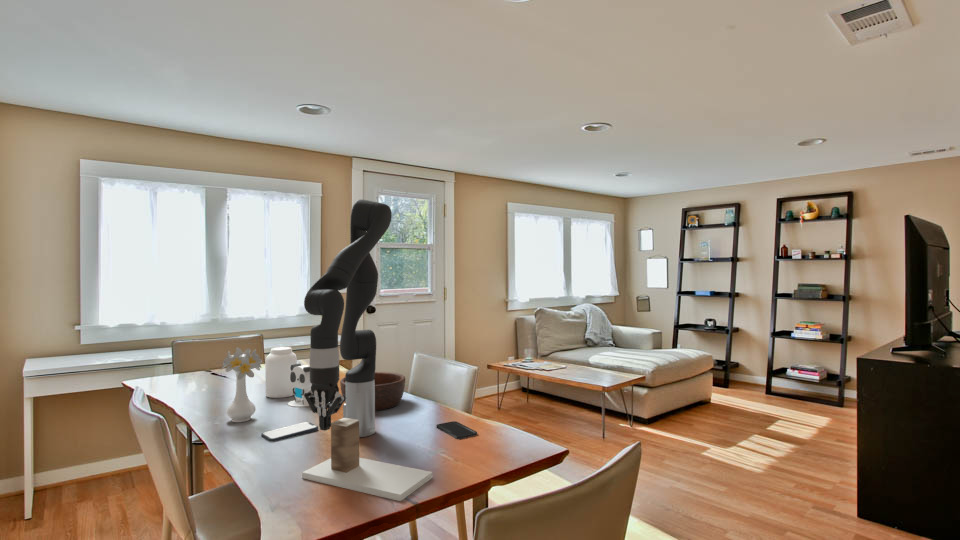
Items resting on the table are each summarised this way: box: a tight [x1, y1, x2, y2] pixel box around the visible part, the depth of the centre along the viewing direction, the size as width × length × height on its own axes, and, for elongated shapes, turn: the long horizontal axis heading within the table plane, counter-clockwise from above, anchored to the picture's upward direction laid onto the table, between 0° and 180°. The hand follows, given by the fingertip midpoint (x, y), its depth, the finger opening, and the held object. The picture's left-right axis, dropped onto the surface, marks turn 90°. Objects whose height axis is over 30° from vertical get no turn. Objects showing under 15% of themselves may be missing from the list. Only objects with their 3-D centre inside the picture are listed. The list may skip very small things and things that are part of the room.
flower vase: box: [220, 347, 264, 423], centre depth 176 cm, size 13×18×25 cm
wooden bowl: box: [339, 371, 406, 411], centre depth 196 cm, size 25×25×10 cm
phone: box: [435, 420, 478, 440], centre depth 163 cm, size 8×1×15 cm
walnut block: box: [330, 417, 360, 473], centre depth 130 cm, size 5×5×12 cm
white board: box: [301, 457, 433, 502], centre depth 127 cm, size 30×14×2 cm, turn 64°
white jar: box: [264, 346, 298, 399], centre depth 212 cm, size 12×12×20 cm
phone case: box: [260, 421, 319, 443], centre depth 162 cm, size 9×2×16 cm
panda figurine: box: [287, 363, 316, 408], centre depth 199 cm, size 12×11×15 cm
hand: (325, 429), depth 133 cm, fingers closed
